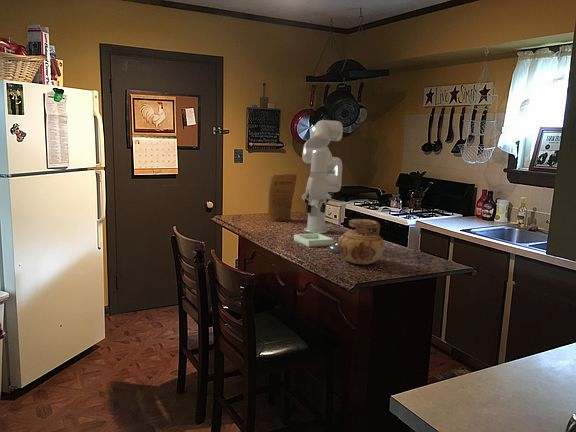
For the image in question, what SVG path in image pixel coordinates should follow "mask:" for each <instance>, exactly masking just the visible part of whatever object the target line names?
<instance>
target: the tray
mask: <svg viewBox="0 0 576 432" xmlns="http://www.w3.org/2000/svg"><path fill="white" fill-rule="evenodd" d="M293 241H295V242H297V243H299V244H301V245H302V246H305V247H307V248H313V247H327V246H328V247H329V245H332V244H335V242H334V241H335V239H334V238H332V237H329V236H327V235H323V233H298V234H297V233H296V234H294V235H293Z"/></svg>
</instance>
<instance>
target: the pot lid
mask: <svg viewBox="0 0 576 432" xmlns="http://www.w3.org/2000/svg"><path fill="white" fill-rule="evenodd" d="M338 243H339V242H337V243H334V244H332V245H329V246H328V251H329V252H330V253H332V254H336V255H337V254H340V251H339V246H338ZM340 255H341V254H340Z"/></svg>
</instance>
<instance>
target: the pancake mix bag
mask: <svg viewBox="0 0 576 432" xmlns="http://www.w3.org/2000/svg"><path fill="white" fill-rule="evenodd" d="M297 178H298V177H297V174H295V173H293V174H292V173H289V174H288V173H287V174H286V173H285V174H272V176H271V177H270V181H269V188H268V197H267V198H268V199H267V202H268V203H267V205H268V206H267V220H266V221H267V222H272V221H276V222H290V221H291V220H292V215H291V213H292V207H293V198H294V196H295V195H294V194H295V191H296V190H295V189H296V185H297Z"/></svg>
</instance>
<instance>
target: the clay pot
mask: <svg viewBox="0 0 576 432" xmlns="http://www.w3.org/2000/svg"><path fill="white" fill-rule="evenodd" d="M348 226H349V227H352V228H355V229H351V230H347V231H346V232H344V233H342V235H341V236H339V239H338V242H337V243H338V246H339V251H340V256H341V257H342V258H343V259H344V260H345V261H347V262H349V263H352V264H354V265H359V266H365V265H372V264H374V263H376V262H378V260H380V258H381V257H382V255H383V253H384V250H385V242H384V239H383V237H381V236H380V229H381V224H380V222H378V221H377V220H373V219H365V218H363V219H362V218H353V219H349V220H348Z"/></svg>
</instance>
